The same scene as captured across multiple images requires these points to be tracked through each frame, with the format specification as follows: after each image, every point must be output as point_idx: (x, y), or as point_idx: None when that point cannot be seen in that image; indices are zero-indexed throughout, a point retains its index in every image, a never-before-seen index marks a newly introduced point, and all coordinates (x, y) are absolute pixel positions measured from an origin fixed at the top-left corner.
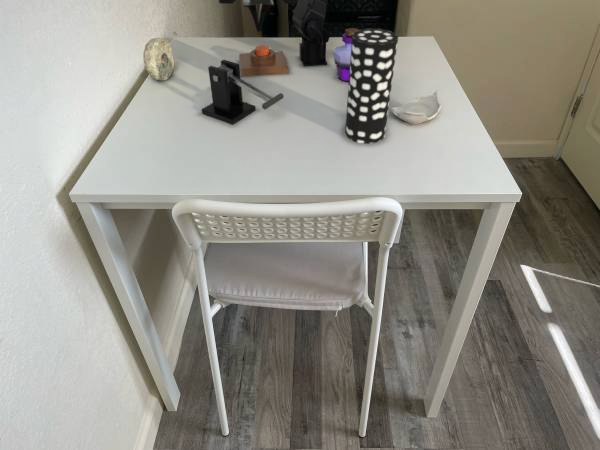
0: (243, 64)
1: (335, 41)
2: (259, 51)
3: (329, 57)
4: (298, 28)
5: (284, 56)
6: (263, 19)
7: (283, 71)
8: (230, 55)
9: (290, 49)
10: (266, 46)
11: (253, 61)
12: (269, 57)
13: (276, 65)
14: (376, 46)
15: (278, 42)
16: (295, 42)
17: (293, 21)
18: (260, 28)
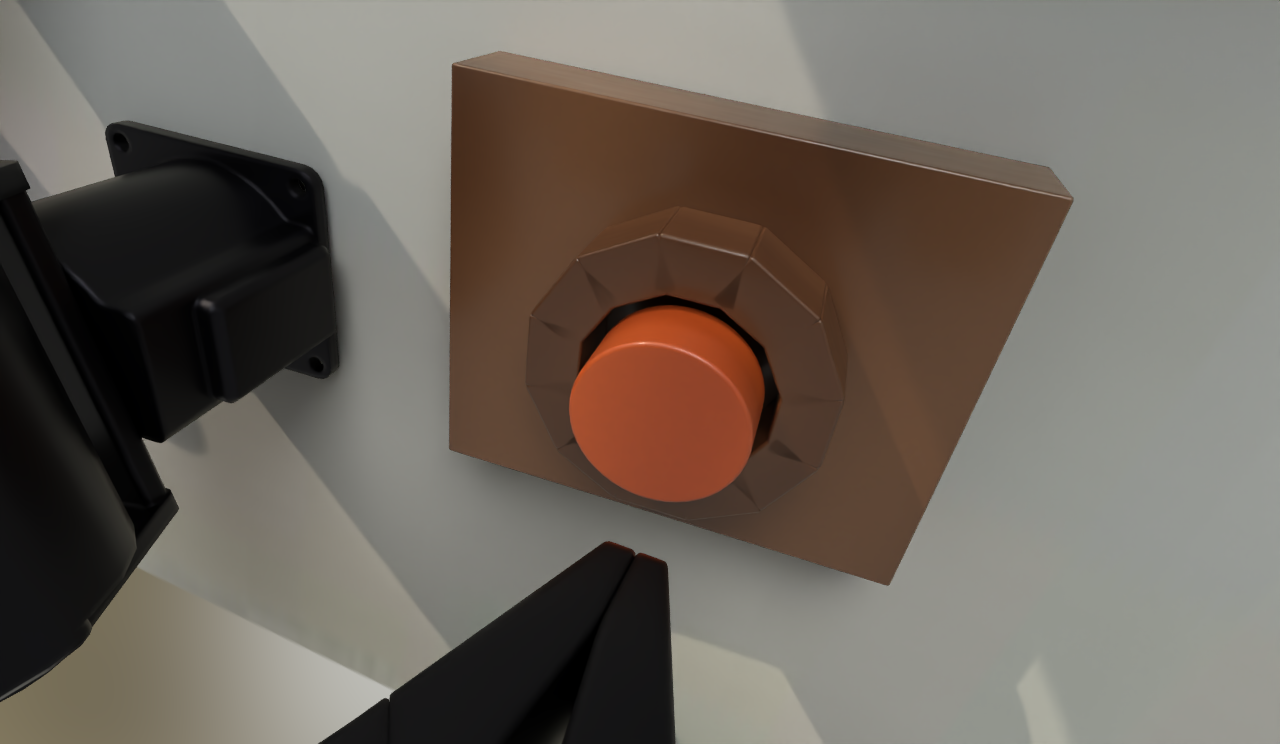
0: (980, 310)
1: None
2: (723, 359)
3: None
4: (24, 417)
5: (452, 328)
6: (412, 692)
7: (534, 66)
8: (913, 672)
9: (402, 542)
10: (595, 435)
11: (833, 311)
12: (625, 237)
13: (584, 115)
14: None
15: None
16: (356, 620)
17: (73, 599)
18: (585, 573)
